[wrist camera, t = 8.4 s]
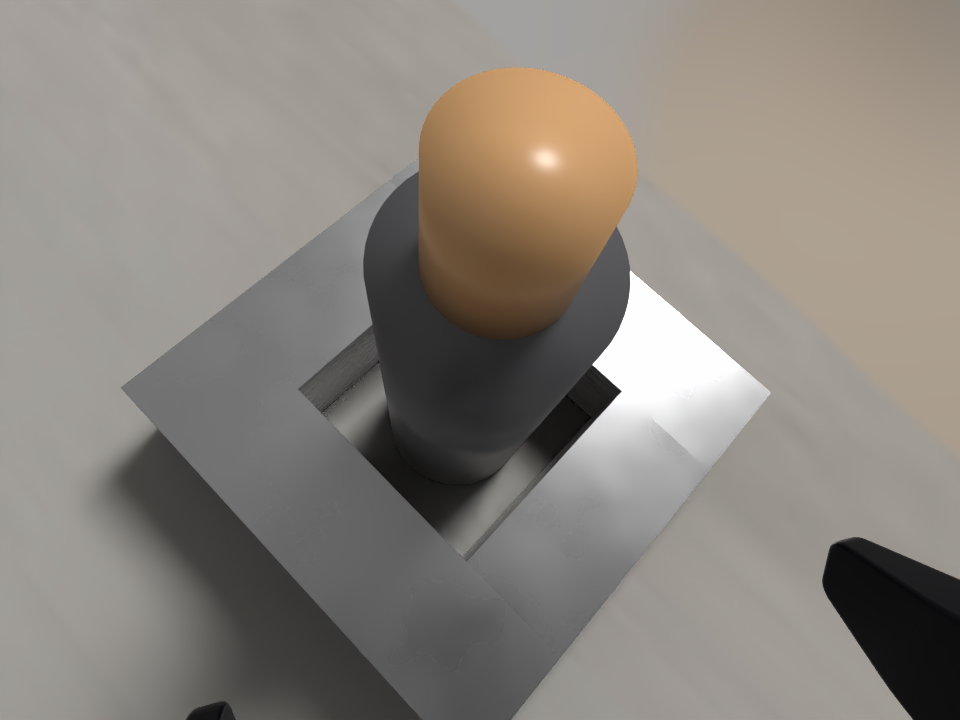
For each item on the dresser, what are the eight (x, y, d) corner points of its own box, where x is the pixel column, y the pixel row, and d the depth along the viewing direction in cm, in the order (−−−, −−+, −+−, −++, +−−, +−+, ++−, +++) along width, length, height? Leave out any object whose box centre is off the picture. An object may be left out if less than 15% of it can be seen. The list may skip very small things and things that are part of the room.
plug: (546, 419, 18) (775, 166, 7) (457, 513, 17) (544, 408, 5) (456, 334, 19) (518, -35, 7) (363, 419, 18) (260, 140, 6)
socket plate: (718, 417, 19) (771, 392, 16) (459, 733, 15) (469, 771, 13) (454, 184, 21) (460, 125, 18) (168, 416, 17) (120, 387, 14)
